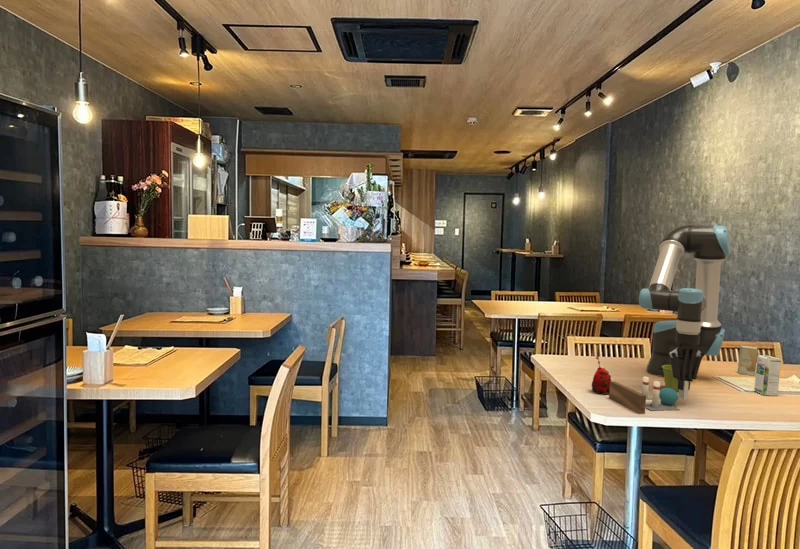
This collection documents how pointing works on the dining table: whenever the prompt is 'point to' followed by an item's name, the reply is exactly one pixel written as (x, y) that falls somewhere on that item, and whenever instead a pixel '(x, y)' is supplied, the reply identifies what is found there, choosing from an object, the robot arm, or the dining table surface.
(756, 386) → the syrup box
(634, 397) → the bar
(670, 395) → the ball
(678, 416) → the dining table surface
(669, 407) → the pin deck mark
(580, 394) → the dining table surface
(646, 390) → the pin back right
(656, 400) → the pin back left
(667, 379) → the plant pot
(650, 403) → the pin front
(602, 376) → the red clay folk toy
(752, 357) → the skincare box
